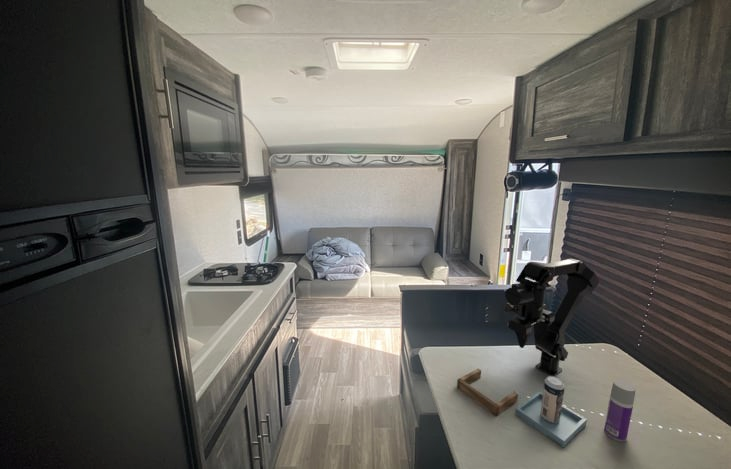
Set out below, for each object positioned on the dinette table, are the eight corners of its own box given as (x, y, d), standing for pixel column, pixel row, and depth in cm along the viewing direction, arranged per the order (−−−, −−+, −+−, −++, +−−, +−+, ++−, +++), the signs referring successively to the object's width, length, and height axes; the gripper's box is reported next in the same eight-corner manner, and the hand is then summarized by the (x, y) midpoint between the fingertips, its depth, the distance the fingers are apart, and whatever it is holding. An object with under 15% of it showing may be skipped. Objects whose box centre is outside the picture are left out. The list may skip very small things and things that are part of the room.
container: (630, 443, 77) (641, 392, 74) (610, 439, 78) (619, 390, 75) (619, 428, 81) (628, 380, 79) (600, 425, 82) (608, 378, 79)
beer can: (560, 426, 81) (566, 388, 79) (540, 420, 83) (545, 383, 81) (558, 414, 85) (563, 378, 83) (539, 408, 87) (544, 373, 85)
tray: (538, 396, 93) (539, 391, 93) (585, 425, 82) (586, 419, 82) (514, 413, 86) (515, 407, 86) (563, 447, 75) (564, 441, 75)
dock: (477, 376, 103) (478, 368, 102) (517, 402, 91) (518, 393, 90) (456, 387, 97) (457, 379, 96) (496, 416, 85) (497, 407, 85)
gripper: (525, 287, 108) (521, 326, 111) (494, 298, 99) (490, 340, 101) (558, 297, 99) (552, 339, 102) (527, 310, 89) (522, 356, 92)
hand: (528, 343), depth 100 cm, fingers open, 9 cm apart
